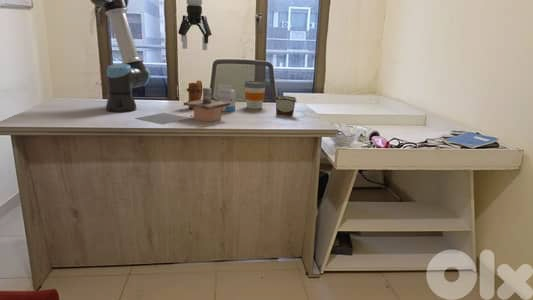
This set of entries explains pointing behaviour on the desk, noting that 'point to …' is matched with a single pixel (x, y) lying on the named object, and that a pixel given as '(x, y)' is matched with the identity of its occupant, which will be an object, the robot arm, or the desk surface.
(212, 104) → the lid
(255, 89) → the reusable coffee cup
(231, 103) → the clear plastic jar
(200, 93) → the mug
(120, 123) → the desk surface
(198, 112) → the bowl
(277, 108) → the food container
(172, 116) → the mat
